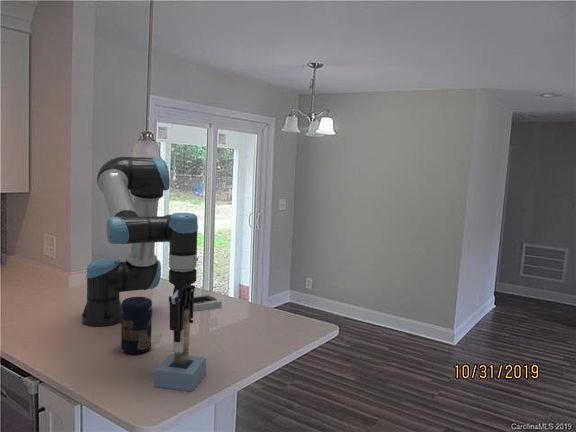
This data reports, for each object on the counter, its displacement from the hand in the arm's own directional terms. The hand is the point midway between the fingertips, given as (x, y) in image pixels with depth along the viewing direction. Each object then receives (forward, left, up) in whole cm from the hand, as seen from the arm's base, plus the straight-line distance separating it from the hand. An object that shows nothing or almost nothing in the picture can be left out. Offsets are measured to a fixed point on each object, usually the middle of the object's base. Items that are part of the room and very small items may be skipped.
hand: (181, 348), depth 130 cm
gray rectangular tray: (-20, +65, -10) cm, 69 cm away
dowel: (0, 0, -4) cm, 4 cm away
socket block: (0, 0, -10) cm, 10 cm away
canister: (-22, +16, -10) cm, 29 cm away
